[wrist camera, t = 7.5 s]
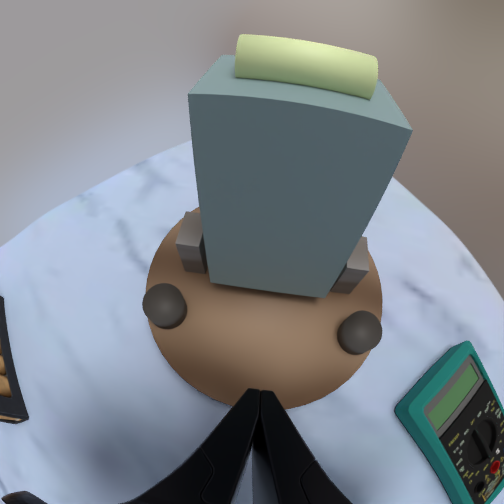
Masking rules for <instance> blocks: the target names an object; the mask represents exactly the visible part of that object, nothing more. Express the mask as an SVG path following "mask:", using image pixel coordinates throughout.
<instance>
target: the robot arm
mask: <svg viewBox="0 0 504 504" xmlns="http://www.w3.org/2000/svg"><path fill="white" fill-rule="evenodd" d="M251 447H252V483H253V504H352V503H351V502H350V501H349V500H348V499H347V498H346V497H345V496H344V495H343V493H342V492H341V491H340V490H339V489H338V488H337V487H336V486H335V485H334V483H333V482H332V481H331V480H330V479H329V477H328V476H327V475H326V473H325V472H324V470H323V469H322V468H321V466H320V465H319V463H318V461H317V460H315V457H314V456H313V454H312V452H311V451H310V449H309V448H308V446H307V445H306V443H305V442H304V440H303V438H302V437H301V435H300V434H299V432H298V430H297V429H296V427H295V426H294V424H293V422H292V421H291V419H290V418H289V416H288V414H287V413H286V411H285V409H284V408H283V406H282V404H281V403H280V401H279V399H278V398H277V396H276V394H275V393H274V391H272V390H261V391H260V389H255V388H248V389H247V390H246V391H245V392H244V393H243V395H242V396H241V397H240V398H239V400H238V401H237V402H236V403H235V405H234V406H233V407H232V408H231V410H230V411H229V412H228V413H227V414H226V416H225V417H224V418H223V419H222V420H221V422H220V423H219V424H218V425H217V426H216V427H215V429H214V430H213V431H212V432H211V433H210V434H209V436H208V437H207V438H206V439H205V440H204V441H203V442H202V444H201V445H200V446H199V448H197V449H196V450H195V451H194V452H193V453H192V455H191V456H190V457H189V458H188V459H187V460H186V461H185V462H184V463H183V464H182V465H180V466H179V467H178V468H177V469H176V470H174V471H173V472H172V473H171V474H169V475H168V476H167V477H165V478H164V479H163V480H161V481H160V482H159V483H157V484H156V485H154V486H153V487H152V488H150V489H149V490H147V491H146V492H144V493H143V494H141V495H140V496H138V497H136V498H134V499H132V500H130V501H127V502H124V503H120V504H235V501H236V498H237V495H238V492H239V488H240V485H241V482H242V479H243V475H244V472H245V469H246V465H247V462H248V459H249V455H250V451H251ZM1 499H2V500H3V501H4V502H5V503H6V504H47V503H46V502H44V501H42V500H41V499H39V498H38V497H36V496H35V495H33V494H31V493H30V492H27V491H20V492H14V493H10V494H7V495H6V496H4V497H2V498H1Z"/></svg>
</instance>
